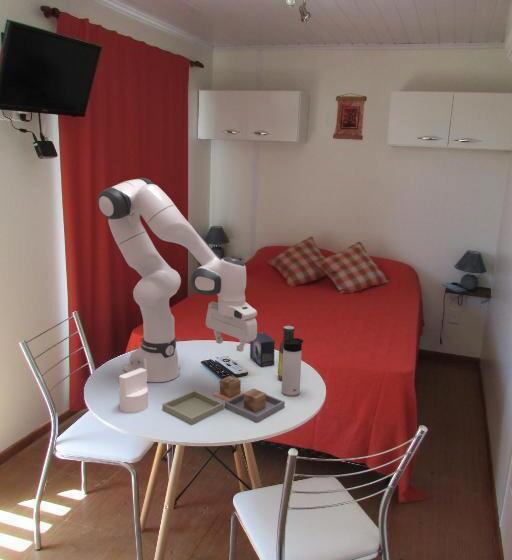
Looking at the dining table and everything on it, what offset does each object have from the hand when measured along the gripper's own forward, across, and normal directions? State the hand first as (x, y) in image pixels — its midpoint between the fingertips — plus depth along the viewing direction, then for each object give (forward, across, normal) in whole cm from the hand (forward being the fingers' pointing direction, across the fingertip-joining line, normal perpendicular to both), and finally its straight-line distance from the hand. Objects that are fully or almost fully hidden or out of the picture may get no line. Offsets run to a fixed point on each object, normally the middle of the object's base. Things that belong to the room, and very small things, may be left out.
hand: (229, 346), depth 174 cm
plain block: (+17, +13, -1) cm, 21 cm away
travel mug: (+17, +15, +16) cm, 28 cm away
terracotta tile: (+18, +1, 0) cm, 18 cm away
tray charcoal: (+18, +13, -1) cm, 22 cm away
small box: (+18, -11, +32) cm, 38 cm away
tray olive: (+18, -1, -15) cm, 24 cm away
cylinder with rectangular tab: (+19, -16, -26) cm, 36 cm away
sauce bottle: (+18, +6, +25) cm, 31 cm away
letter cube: (+17, +1, 0) cm, 17 cm away
